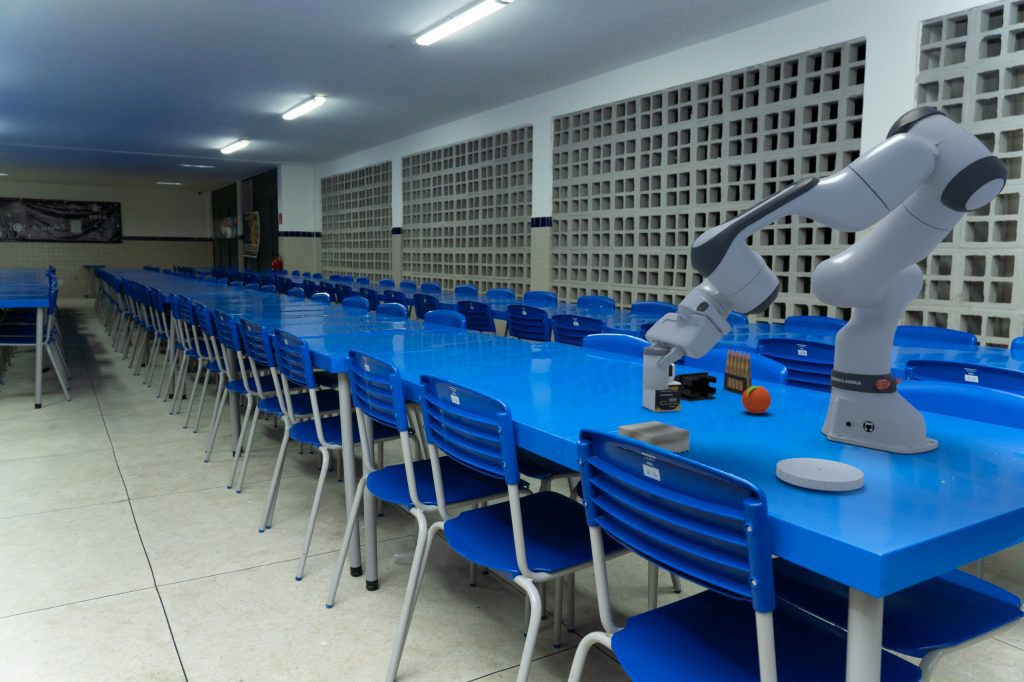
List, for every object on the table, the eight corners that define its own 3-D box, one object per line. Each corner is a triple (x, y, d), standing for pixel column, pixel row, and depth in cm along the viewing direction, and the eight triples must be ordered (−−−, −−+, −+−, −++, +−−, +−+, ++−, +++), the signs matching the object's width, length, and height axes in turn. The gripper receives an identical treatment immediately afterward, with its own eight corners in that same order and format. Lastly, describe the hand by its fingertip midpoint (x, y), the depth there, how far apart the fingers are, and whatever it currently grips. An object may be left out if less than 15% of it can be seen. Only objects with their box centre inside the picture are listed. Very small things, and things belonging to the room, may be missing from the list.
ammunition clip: (723, 389, 211) (724, 348, 210) (728, 389, 212) (730, 348, 210) (745, 396, 201) (747, 353, 200) (751, 396, 202) (753, 353, 200)
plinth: (688, 450, 145) (689, 430, 145) (651, 457, 140) (652, 437, 139) (654, 439, 154) (654, 420, 153) (617, 445, 148) (618, 426, 148)
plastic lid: (766, 486, 124) (767, 472, 124) (786, 466, 136) (786, 453, 135) (856, 502, 116) (857, 487, 116) (868, 480, 128) (869, 466, 128)
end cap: (699, 394, 204) (700, 370, 203) (717, 398, 198) (718, 374, 197) (671, 397, 200) (672, 372, 199) (688, 401, 193) (689, 376, 193)
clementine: (758, 418, 174) (759, 389, 173) (732, 413, 179) (734, 385, 179) (776, 413, 179) (777, 385, 178) (751, 409, 184) (752, 381, 184)
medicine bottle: (654, 412, 180) (656, 364, 178) (642, 406, 187) (643, 360, 185) (680, 410, 182) (682, 363, 180) (667, 405, 189) (668, 359, 187)
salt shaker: (672, 387, 145) (673, 347, 144) (661, 391, 141) (662, 350, 140) (650, 384, 148) (651, 345, 147) (638, 388, 144) (639, 348, 144)
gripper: (666, 300, 155) (622, 346, 153) (716, 307, 135) (666, 360, 134) (684, 320, 156) (641, 367, 155) (736, 330, 137) (687, 383, 135)
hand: (653, 364), depth 144 cm, fingers closed on salt shaker, 5 cm apart
